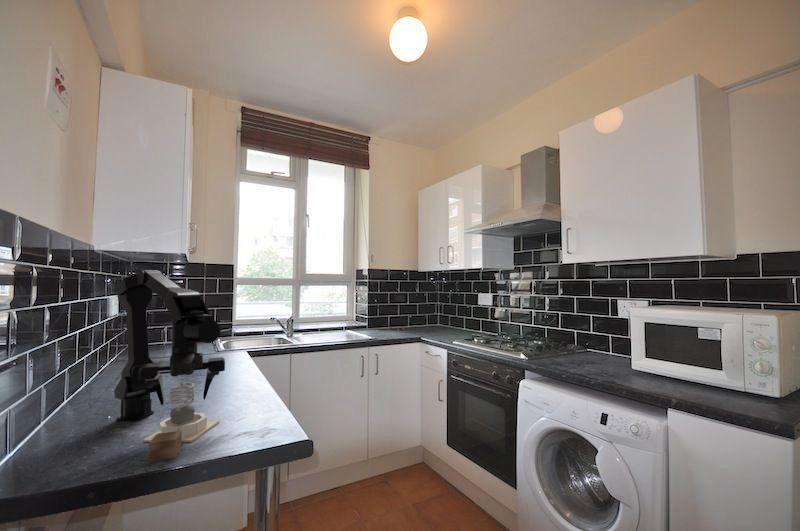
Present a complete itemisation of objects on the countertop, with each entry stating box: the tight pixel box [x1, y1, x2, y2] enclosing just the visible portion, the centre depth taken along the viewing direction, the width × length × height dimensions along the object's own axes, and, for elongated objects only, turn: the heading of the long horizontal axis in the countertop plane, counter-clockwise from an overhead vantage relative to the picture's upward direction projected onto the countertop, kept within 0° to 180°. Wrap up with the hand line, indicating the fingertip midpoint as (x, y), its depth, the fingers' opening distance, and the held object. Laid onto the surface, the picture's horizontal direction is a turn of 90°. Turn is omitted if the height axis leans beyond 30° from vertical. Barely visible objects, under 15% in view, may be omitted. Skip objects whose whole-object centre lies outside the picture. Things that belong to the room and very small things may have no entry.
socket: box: [142, 412, 220, 443], centre depth 92 cm, size 12×12×3 cm
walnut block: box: [148, 431, 182, 462], centre depth 80 cm, size 5×5×4 cm
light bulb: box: [169, 381, 196, 426], centre depth 92 cm, size 6×6×12 cm
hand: (183, 401), depth 92 cm, fingers open, 9 cm apart
